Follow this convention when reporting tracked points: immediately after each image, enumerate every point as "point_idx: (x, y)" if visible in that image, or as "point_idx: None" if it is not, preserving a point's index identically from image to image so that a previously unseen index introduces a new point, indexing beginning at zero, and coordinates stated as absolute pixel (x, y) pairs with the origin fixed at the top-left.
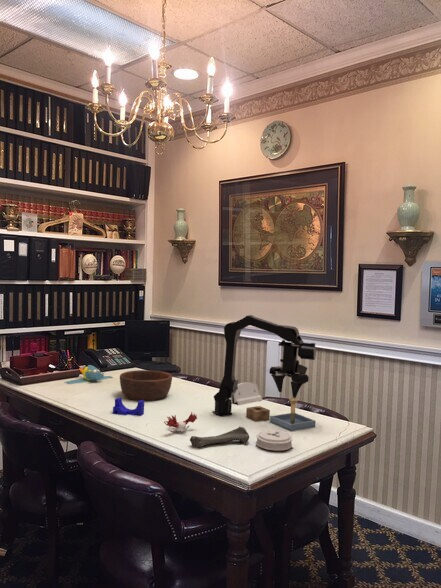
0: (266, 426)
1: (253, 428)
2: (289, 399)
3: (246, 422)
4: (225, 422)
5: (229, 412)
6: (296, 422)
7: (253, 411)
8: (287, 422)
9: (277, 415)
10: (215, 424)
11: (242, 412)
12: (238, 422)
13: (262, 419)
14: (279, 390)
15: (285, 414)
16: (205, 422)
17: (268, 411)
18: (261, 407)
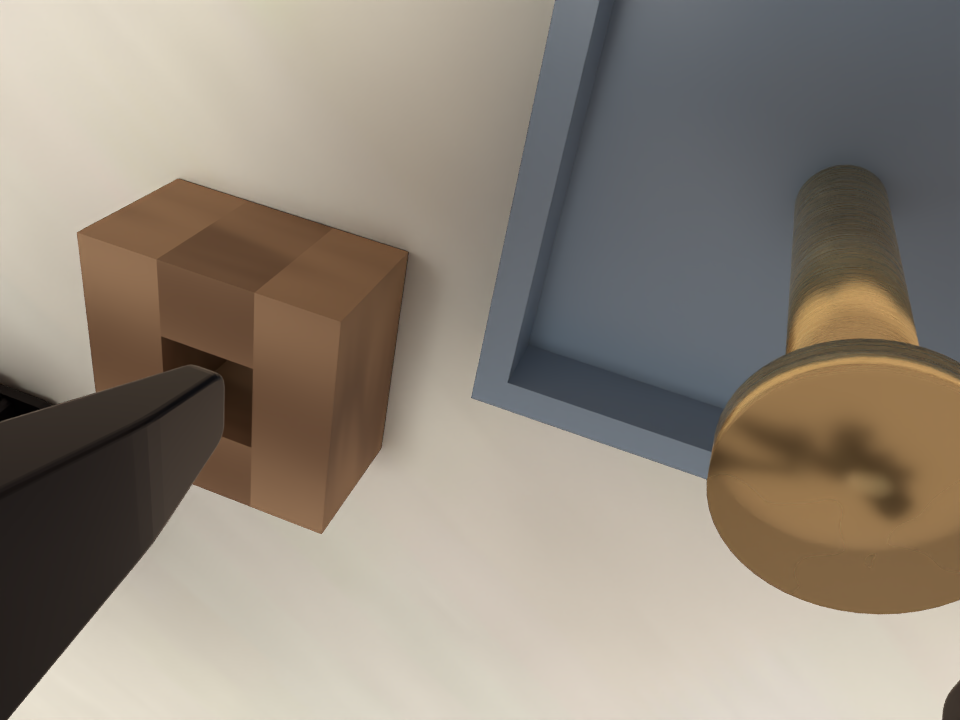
0: (596, 523)
1: (547, 650)
2: (762, 573)
3: (348, 531)
4: (253, 634)
5: (14, 415)
6: (889, 114)
7: (262, 501)
8: (747, 246)
9: (517, 289)
10: (263, 711)
11: (5, 245)
12: (308, 574)
13: (386, 370)
14: (188, 485)
15: (569, 114)
16: (186, 706)
17: (347, 334)
18: (159, 289)
